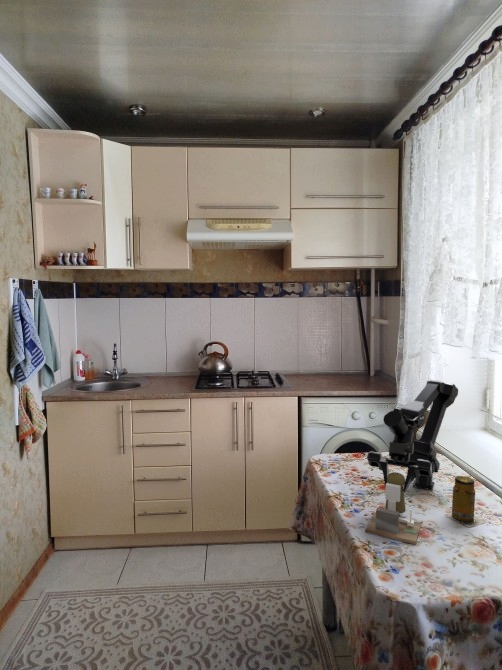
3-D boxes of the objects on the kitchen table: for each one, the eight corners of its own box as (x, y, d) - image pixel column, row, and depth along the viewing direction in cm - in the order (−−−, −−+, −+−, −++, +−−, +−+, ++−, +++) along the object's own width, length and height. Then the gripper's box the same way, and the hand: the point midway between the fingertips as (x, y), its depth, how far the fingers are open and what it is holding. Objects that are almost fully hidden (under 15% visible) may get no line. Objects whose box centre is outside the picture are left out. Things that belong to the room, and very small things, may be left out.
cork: (407, 514, 134) (408, 478, 133) (385, 512, 135) (386, 477, 134) (404, 505, 140) (405, 470, 138) (384, 503, 141) (384, 469, 140)
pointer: (407, 523, 130) (408, 508, 129) (413, 525, 129) (414, 509, 128) (407, 525, 129) (407, 510, 128) (413, 526, 128) (413, 511, 127)
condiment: (461, 510, 140) (463, 472, 139) (485, 522, 133) (488, 483, 131) (444, 515, 137) (446, 477, 136) (468, 528, 129) (470, 488, 128)
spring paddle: (385, 515, 135) (386, 482, 134) (414, 521, 131) (416, 488, 130) (384, 518, 133) (385, 485, 132) (413, 525, 129) (414, 491, 128)
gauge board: (374, 515, 137) (374, 495, 136) (421, 525, 131) (421, 504, 130) (365, 531, 127) (365, 510, 127) (415, 544, 121) (416, 522, 120)
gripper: (369, 426, 143) (359, 472, 134) (432, 435, 134) (426, 485, 125) (374, 443, 150) (365, 487, 142) (434, 452, 142) (428, 500, 133)
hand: (394, 489), depth 135 cm, fingers closed on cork, 5 cm apart
